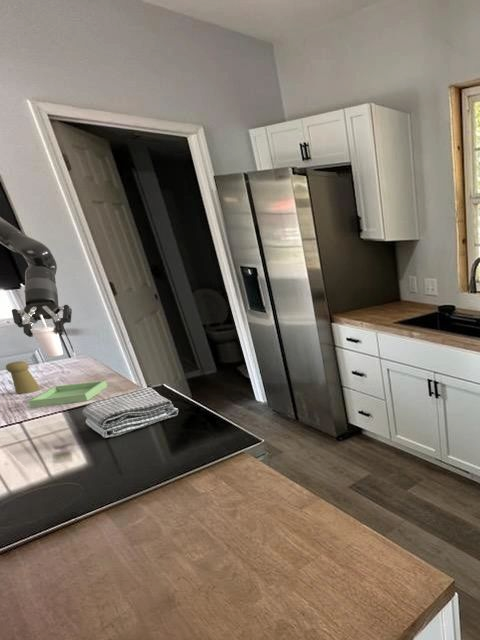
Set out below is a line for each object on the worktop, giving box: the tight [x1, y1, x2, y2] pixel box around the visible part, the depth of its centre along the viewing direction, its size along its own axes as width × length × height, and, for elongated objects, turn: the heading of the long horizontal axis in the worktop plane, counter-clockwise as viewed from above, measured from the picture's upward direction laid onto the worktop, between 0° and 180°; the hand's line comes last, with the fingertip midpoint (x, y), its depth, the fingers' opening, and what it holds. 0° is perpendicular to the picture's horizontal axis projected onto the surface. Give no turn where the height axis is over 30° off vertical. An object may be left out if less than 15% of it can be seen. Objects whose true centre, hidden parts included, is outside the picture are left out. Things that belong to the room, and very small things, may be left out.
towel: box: [81, 386, 179, 439], centre depth 122 cm, size 15×18×8 cm
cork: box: [5, 360, 41, 395], centre depth 148 cm, size 6×6×11 cm
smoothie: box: [30, 315, 64, 358], centre depth 139 cm, size 6×6×14 cm
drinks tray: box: [27, 380, 109, 409], centre depth 144 cm, size 15×15×2 cm
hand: (44, 333), depth 138 cm, fingers closed on smoothie, 6 cm apart
